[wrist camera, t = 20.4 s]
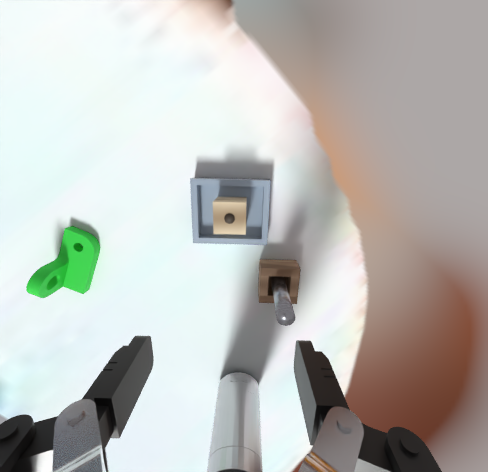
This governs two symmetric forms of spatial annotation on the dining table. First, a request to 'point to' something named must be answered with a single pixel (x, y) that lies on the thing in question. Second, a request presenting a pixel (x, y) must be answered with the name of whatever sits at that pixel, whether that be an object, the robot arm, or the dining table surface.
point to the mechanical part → (68, 265)
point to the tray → (211, 188)
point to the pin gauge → (282, 301)
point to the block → (229, 215)
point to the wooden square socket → (278, 268)
